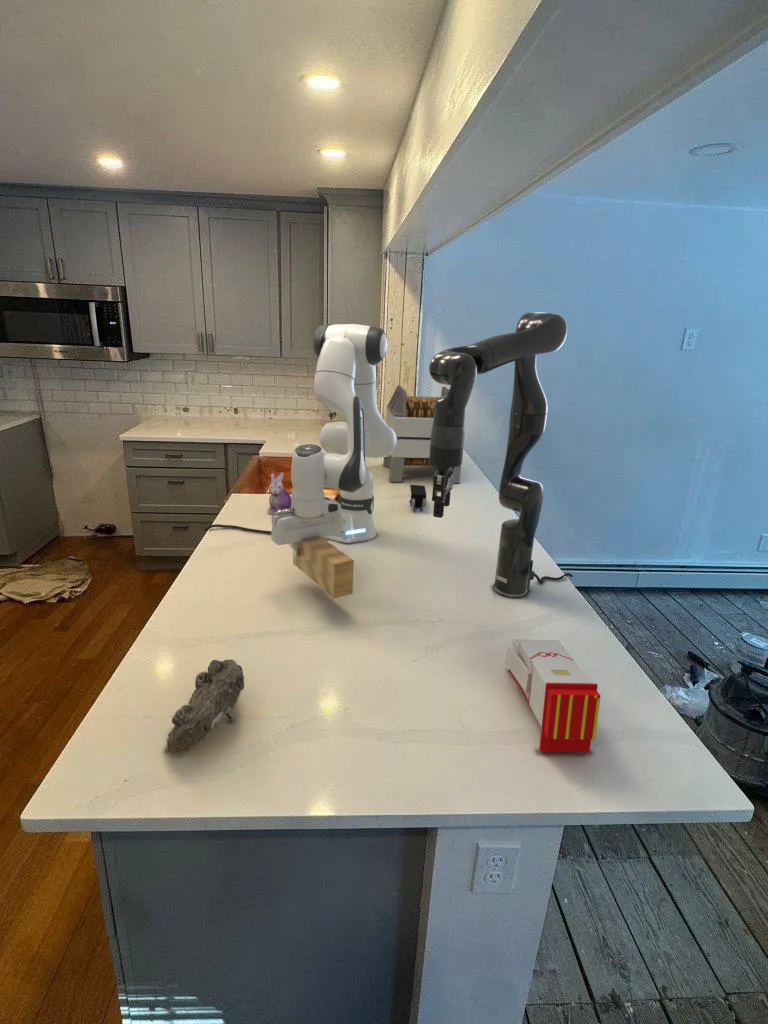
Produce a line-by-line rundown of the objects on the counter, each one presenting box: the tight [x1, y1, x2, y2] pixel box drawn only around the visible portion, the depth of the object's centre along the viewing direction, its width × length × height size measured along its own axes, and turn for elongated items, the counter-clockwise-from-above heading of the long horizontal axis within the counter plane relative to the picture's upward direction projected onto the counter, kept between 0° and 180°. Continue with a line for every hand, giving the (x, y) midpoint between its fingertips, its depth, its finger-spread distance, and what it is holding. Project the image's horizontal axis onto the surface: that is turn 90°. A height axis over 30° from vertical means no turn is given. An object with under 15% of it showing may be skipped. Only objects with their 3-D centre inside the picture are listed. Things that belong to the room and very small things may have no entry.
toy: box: [505, 638, 602, 753], centre depth 114 cm, size 12×13×30 cm
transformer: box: [383, 384, 462, 484], centre depth 268 cm, size 34×33×41 cm
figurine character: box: [408, 484, 428, 512], centre depth 226 cm, size 7×8×15 cm
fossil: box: [166, 658, 245, 754], centre depth 106 cm, size 22×10×15 cm
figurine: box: [268, 471, 291, 515], centre depth 214 cm, size 9×10×15 cm
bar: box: [292, 536, 355, 599], centre depth 150 cm, size 24×6×9 cm, turn 34°
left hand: (307, 553), depth 157 cm, fingers closed on bar, 5 cm apart
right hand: (441, 511), depth 133 cm, fingers open, 8 cm apart
